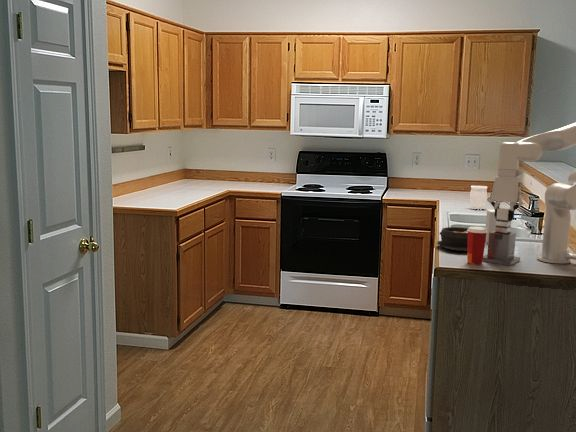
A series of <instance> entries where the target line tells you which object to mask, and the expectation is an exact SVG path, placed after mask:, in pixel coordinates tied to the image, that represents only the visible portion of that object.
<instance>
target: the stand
mask: <svg viewBox="0 0 576 432" xmlns="http://www.w3.org/2000/svg"><path fill="white" fill-rule="evenodd" d="M516 238H517V233H516V232H512V231H510V234H508V235H507V234H499V233H495V231H492V232H490V233H489V241H488V244H487V252H486V253H487V254H485V255H483V261H482V262H483V263H490V264H495V265H496V264H498V265H503V266H509V267H511V266H513V265H515V264H517V263H519V262H521V257H520V256H515V250H516V249H515V247H516Z"/></svg>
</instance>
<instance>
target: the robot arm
mask: <svg viewBox="0 0 576 432" xmlns="http://www.w3.org/2000/svg"><path fill="white" fill-rule="evenodd" d="M574 146H576V121H575V122H573V123H570V124H567V125H565V126H562V127H559V128H557V129H554V130H549V131H546V132H543V133H539V134H535V135H532V136H529V137H526V138H523V139H521V140H518V141H515V142H513V141H512V142H511V141H510V142H509V141H503V142H501V143H500V145H499V153H498V154H499V155H498V165H497V175H496V176H495V179H494V181H493V186H492V191H491V194H490V195H489V196H488V197H487V199H486V202H488V203H490V204H491V206H492V207H493V210H495V214H494V216H495V219H497V209H498V208H500V206H501V203H503V204H504V203H506V204H507V203H508V204H509V207H510V211H509V217H508V220H509V221H511V222H512V221H513V219H514V218H515V211H516V210H517V209H518V208H520V207H521V206H523V205H524V204H525V202H524V200H523V198H522V196H521V193H522V192H521V191H522V189H521V188H522V187H521V178H520V177H519V176H522V174H523V172H522V171H520V170H519V166H520V161H522V162H528V163H529V162H530V163H531V162H536V161H538V160H539V159H541V157H542V155H543V153H546V152H559V151H564V150H567V149H569V148H572V147H574ZM516 203H517V204H516ZM544 204H545V207H544V208H545V215H544V225H543V236H542V243H541V244H542V245H541V254H538V255H537V256H536V259H537V260H538V261H541V262H544V263H549V264H557V265H558V264H559V265H560V264H561V265H562V264H564V265H566V264H570V263H571V260H574V261H576V254H575V253H574V254H572V253H571V252H570V250H568V248H569V239H570V230H571V220H572V218H571V216H572V215H571V211H576V168H575V169H574V170H573V171H571V172H570V174H569V175H568V178H567V183H563V182H556V183H554V182H553V183H552V184H550V185H548V187H547V188H546V190H545V192H544Z"/></svg>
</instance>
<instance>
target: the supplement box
mask: <svg viewBox="0 0 576 432" xmlns="http://www.w3.org/2000/svg"><path fill="white" fill-rule="evenodd" d="M494 214H495V209H486V218H485V220H486V221H485V228H486V229H487V234H486V241H485V244H487V245H488V241H489V233H490V232H492V231H495V230H496V219H495V216H494Z"/></svg>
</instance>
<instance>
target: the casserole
mask: <svg viewBox="0 0 576 432" xmlns="http://www.w3.org/2000/svg"><path fill="white" fill-rule="evenodd" d="M468 228H469V227H459V226H457V227H456V226H454V227H453V226H449V227H448V226H447V227H443V228H442V229H441V231H440V232H439V235H440V237H441V240H439V241H437V242H436V244H438V245H439V246H441V247H443V248H445V249H448V250H450V251H454V252H467V247H468V231H467V230H468Z"/></svg>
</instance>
